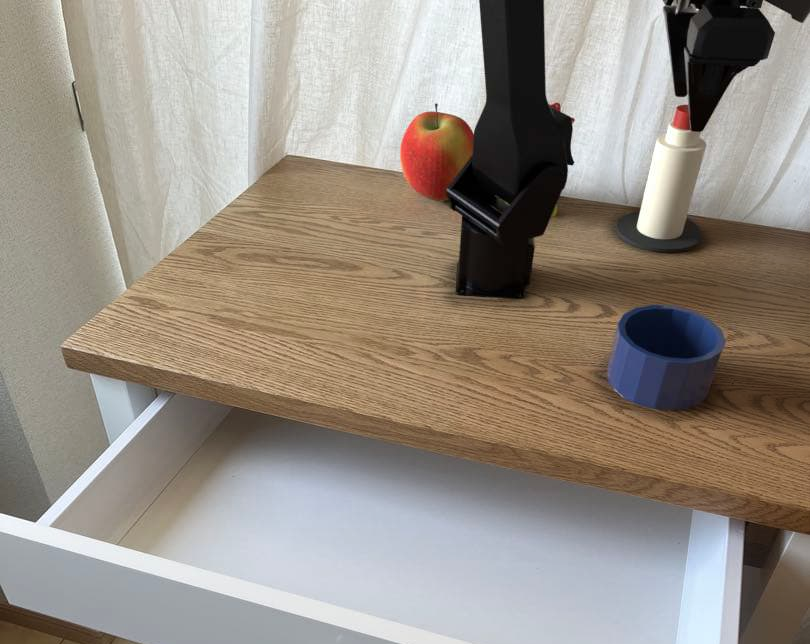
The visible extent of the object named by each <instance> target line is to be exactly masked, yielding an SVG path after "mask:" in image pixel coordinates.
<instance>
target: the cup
mask: <svg viewBox="0 0 810 644" xmlns="http://www.w3.org/2000/svg"><path fill="white" fill-rule="evenodd" d="M726 340H727V339H726V338H725V334H724V331H723V330H722V328H721V327H720V326H718V325H717V324H716V323H715V322H714V321H713V320H712V319H711V318H709V317H707V316H705V315H703V314H701V313H699V312H697V311H695V310H693V309H688V308H684V307H681V306H677V305H668V304H667V305H665V304H651V305H643V306H637V307H634V308H633V309H631V310H629V311H626V312H624V314H622V316H621V317H620V319H619V321H618V323H617V325H616V330H615V333H614V337H613V342H612V346H611V350H610V355H609V359H608V363H607V367H606V377H607V381H608V383H609V385H610V386H611V388H612V389H613V390H614V391H615V392H616V393H617V394H618V395H620V396H621V397H622V398H624V399H625V400H627V401H629V402H631V403H633V404H636V405H639V406H641V407H644V408H649V409H653V410H659V411H679V410H685V409H690V408H692V407H695V406H696V405H699V404H701V402H703V401H704V400H705V399H706V398H707V396H708V393H709V391H710V388H711V385H712V383H713V380H714V377H715V374H716V371H717V369H718V365H719V363H720V360H721V357H722V354H723V351H724V349H725V345H726V343H727V341H726Z"/></svg>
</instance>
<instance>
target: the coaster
mask: <svg viewBox="0 0 810 644" xmlns="http://www.w3.org/2000/svg"><path fill="white" fill-rule="evenodd" d="M639 214H640V210H637V211H632V212H629V213H626V214H624V215H622V216H621V217H619V218H618V219H617V221H616V225H615V231H616V234H617V235H618V236H619V238H620V239H621V240H622V241H624V242H626V243H627V244H629V245H631V246H633V247H636V248H638V249H641V250H645V251H648V252H649V251H650V252H656V253H664V254H666V253H667V254H674V253H683V252H687V251H690V250H692V249H695V248H696V247H697V246H699V245H700V243H701V242H702V238H703V232H702V229H701V228H700V227H699V226H698V225H697V224H696V223H695V222H693V221H691V220H690V219H689V218H686V221H685V225H684V229H683V232H682V234H681V235H680V236H679V237H677V238H674V239H666V240H665V239H655V238H651V237H648V236H646V235H644V234H642V233H641V232H639V231H638V229H637V222H638V218H639Z"/></svg>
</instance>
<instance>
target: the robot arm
mask: <svg viewBox="0 0 810 644" xmlns="http://www.w3.org/2000/svg"><path fill="white" fill-rule="evenodd" d="M478 2H479V17H480V29H481V45H482V56H483V71H484V83H485V84H484V85H485V104H484V107H483V108H482V111H481V113H480V115H479V117H478V120H477V122H476V124H475V127H474V130H473V134H474V140H473V155H472V156H471V158H470V159H469V160H468V161H467V163H466V164H465V165H464V167H463V168H462V169H461V171H460V172H459V173H458V175H457V176H456V177H455V179H454V180H453V181H452V182H451V184H450V185H449V186H448V188H447V190H446V194H447V198H448V200H447V203H448V205H449V208H450V209H451V210H452V212H455V213H458V214H459V215H460V216H461V224H460V225H461V226H460V238H459V239H460V241H459V250H458V251H459V252H458V260H457V262H456V275H455V277H456V278H455V291H454V293H455V295H456V296H460V297H475V298H476V297H478V298H491V299H492V298H494V299H511V300H512V299H513V300H523V299H524V298H525V294H526V293H525V288H527V287H529V286H530V283H531V278H532V269H533V263H534V255H535V250H536V246H535V243H536V242H535V238H538V237H541V236H543V235H544V234H545V232H546V230H547V227H548V225H549V223H550V220H551V218H552V217H551V216H552V213H553V211H554V208H555V206H556V205H557V203H558V201H559V199H560V196H561V194H562V192H563V191H564V190H565V187H566V184H567V181H568V174H569V166H571V167H572V166H574V164H575V160H574V158H573V156H572V137H573V131H574V130H573V129H574V126H573V124H572V120H571V118H572V117H571V116H570V115H568V114H566V113H565V112H562V111H561V112H560V111H558V110H556V109H555V108H553V107H551V106H549V104H550V103H549V102H548V97H547V85H546V83H547V82H546V80H547V79H546V78H547V77H546V36H545V35H546V33H545V32H546V31H545V29H546V27H545V0H478ZM662 2H663V7H662V13H663V17H664V18H663V19H664V25H665V30H666V39H667V45H668V52H669V59H670V69H671V76H672V83H673V91H674V96H675V98H685V97H687V105H688V109H689V121H690V129H691V131H692V132H701V133H702V132H703V131H704V130H705V128H706V126H707V124H708V123H709V121H710V120H711V117H712V116H713V114H714V112H715V110H716V109H717V106H718V105H719V104H720V101H721V100H722V98H723V96H724V94H725V93H726V91H727V90H728V88H729V86H730V85H731V83H732V81H733V80H734V78H735V77H736V76H737V75H738V74H740V73H742V72H743V71H744V70H746V69H748V68H751V67H755V66H757V65H758V64H759V63H760V61H764V60H767V59H769V55H770V51H771V49H772V45H773V42H774V38H775V35H776V32H775V30H774V28H773V27H772V25H771V23H770V22H769V19H768V18H767V17H766V15H765V14H764V13H763V12H762V11H761V9H762V6H763V2H766V3H768V4H770V5H772V6H774V7H776V8H777V9H779V10H782V11H783V12H785V13H787V14H788V15H790V17H791V19H792V20H794V21H796V22H798V23H800V24H804V22H805V21H806V19H807V18H808V16H809V14H810V0H662ZM501 199H502V200H503V201H502V200H501ZM504 201H505V202H506V203H505V202H504ZM507 203H508V204H509V205H508V204H507Z"/></svg>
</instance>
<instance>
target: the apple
mask: <svg viewBox="0 0 810 644" xmlns="http://www.w3.org/2000/svg"><path fill="white" fill-rule="evenodd" d="M438 106H439V104H438V103H436V102H435V103H434V109H435V111H434V110H433V111H425V112H422V113H420V114H418V115H416V116H415V117H414V118H413V119H412V120H411V121H410V123H409V124H408V126H407V128H406V130H405V132H404V134H403V137H402V140H401V142H400V150H399V159H400V160H399V162H400V167H401V171H402V173H403V176H404V179H405V180H406V181H407V182H406V183H408V185H409V186H410V187H411V189H413V191H415V192H416V193H418V194H419V195H421V196H423V197H425V198H427V199H430V200H435V201H448V198H447V194H446V190H447V188H448V186H449V185H450V184H451V182H452V181H453V180H454V179H455V177H456V176H457V175H458V173H459V172H460V171H461V169H462V168H463V167H464V165H465V164H466V163H467V161H468V160H469V159H470V158H471V156H472V155H473V140H474V130H472V128H471V127H470V125H469V124H468V122H467V121H466V120H464V119H463V118H462V117H459V116H457V115H454V114H452V113H451V114H450V113H446V112H440V111H438Z"/></svg>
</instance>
